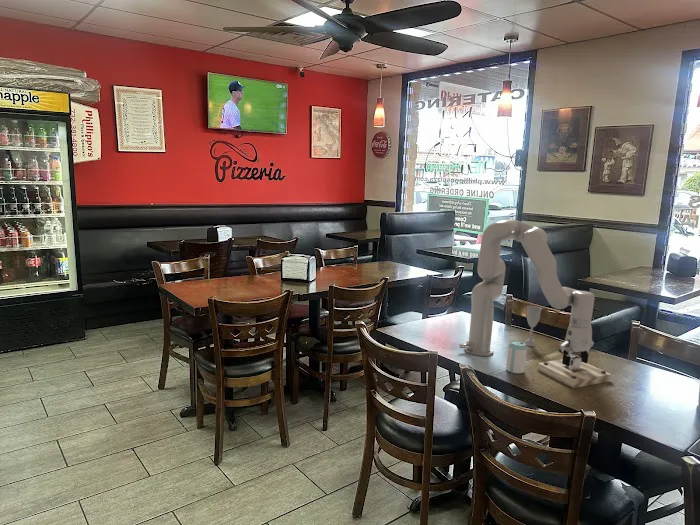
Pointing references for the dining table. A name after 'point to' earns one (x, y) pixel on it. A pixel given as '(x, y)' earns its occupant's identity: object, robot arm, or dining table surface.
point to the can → (516, 357)
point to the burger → (572, 352)
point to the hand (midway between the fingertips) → (574, 363)
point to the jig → (574, 374)
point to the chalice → (532, 321)
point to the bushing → (575, 363)
